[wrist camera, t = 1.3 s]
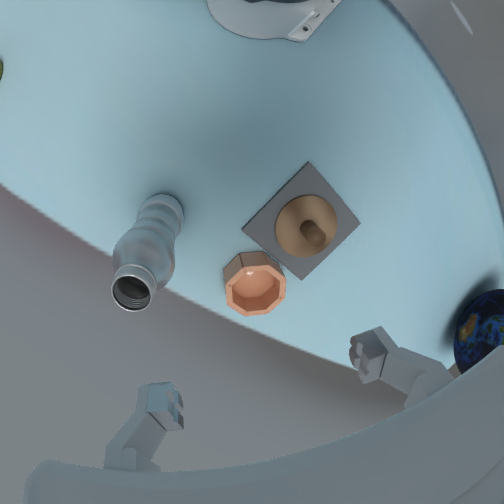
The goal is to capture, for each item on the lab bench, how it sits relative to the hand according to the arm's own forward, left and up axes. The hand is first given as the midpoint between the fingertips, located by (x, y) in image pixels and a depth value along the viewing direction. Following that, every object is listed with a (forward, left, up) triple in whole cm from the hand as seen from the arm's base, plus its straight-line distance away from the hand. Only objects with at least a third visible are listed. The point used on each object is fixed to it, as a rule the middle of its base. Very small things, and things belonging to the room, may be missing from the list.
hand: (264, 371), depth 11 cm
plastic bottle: (+8, -4, -30) cm, 32 cm away
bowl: (+7, +13, -30) cm, 34 cm away
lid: (-5, +13, -30) cm, 33 cm away
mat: (-5, +13, -30) cm, 33 cm away
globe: (-27, +80, -30) cm, 90 cm away
